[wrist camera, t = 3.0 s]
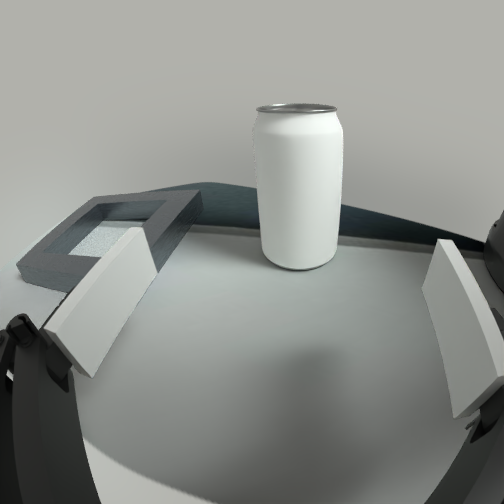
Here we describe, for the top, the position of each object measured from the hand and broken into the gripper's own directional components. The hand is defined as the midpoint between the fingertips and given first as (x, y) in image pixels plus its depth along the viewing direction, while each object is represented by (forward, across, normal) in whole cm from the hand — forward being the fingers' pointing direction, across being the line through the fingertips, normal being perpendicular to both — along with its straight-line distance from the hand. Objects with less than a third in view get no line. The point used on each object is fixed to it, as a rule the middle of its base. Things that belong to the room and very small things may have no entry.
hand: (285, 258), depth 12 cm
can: (+11, 0, -7) cm, 13 cm away
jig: (+10, -20, -7) cm, 23 cm away
